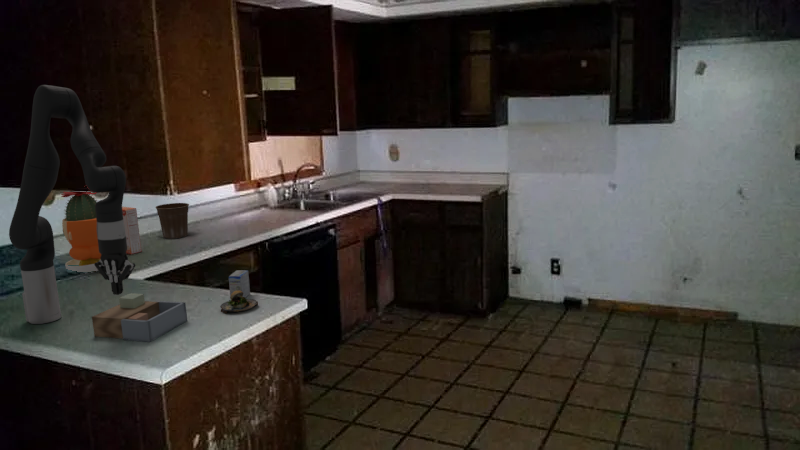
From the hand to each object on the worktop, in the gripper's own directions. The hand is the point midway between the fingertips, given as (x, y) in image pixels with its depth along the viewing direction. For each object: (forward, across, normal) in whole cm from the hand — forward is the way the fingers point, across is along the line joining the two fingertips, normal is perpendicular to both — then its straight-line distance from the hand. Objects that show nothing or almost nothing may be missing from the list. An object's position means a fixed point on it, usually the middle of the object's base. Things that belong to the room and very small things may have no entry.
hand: (117, 293), depth 191 cm
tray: (+12, +9, +4) cm, 15 cm away
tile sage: (+6, -2, +8) cm, 10 cm away
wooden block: (+12, -1, +4) cm, 13 cm away
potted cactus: (+14, -70, +67) cm, 97 cm away
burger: (+12, +23, +28) cm, 38 cm away
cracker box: (+14, -76, +94) cm, 121 cm away
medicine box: (+12, +17, +39) cm, 44 cm away
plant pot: (+14, -74, +128) cm, 148 cm away
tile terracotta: (+9, +4, +1) cm, 10 cm away
